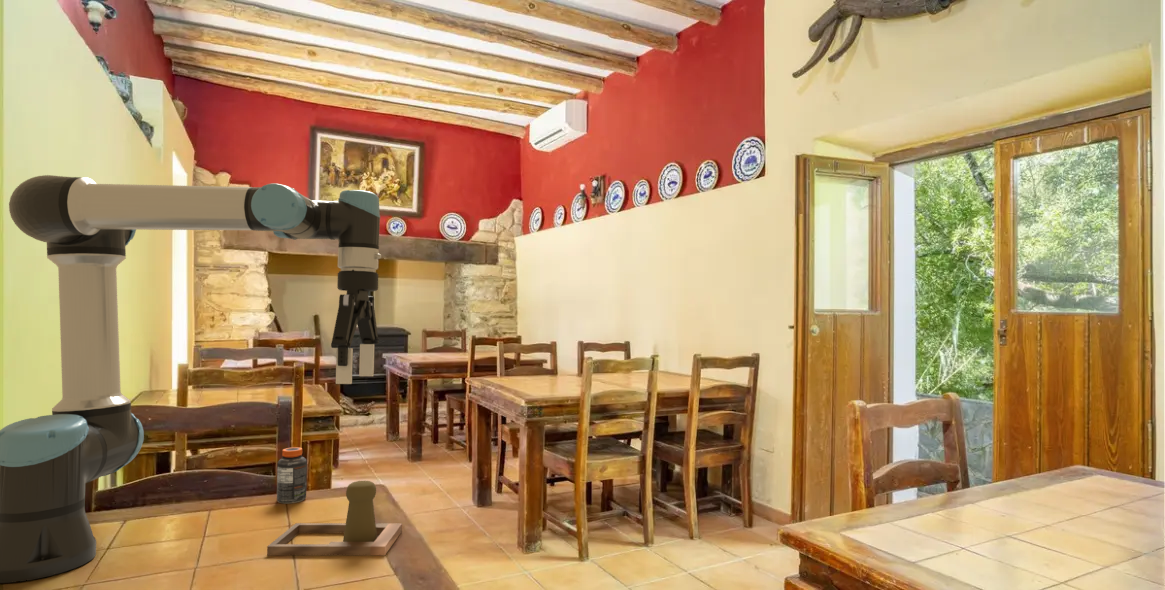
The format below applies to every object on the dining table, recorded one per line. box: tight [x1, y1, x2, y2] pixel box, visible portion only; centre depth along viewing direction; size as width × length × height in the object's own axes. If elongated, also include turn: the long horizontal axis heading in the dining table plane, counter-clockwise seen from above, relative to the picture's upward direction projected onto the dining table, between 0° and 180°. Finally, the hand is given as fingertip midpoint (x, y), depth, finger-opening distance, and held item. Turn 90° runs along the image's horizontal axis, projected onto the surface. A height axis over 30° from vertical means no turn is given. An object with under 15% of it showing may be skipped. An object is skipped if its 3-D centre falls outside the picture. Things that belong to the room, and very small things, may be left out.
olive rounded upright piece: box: [342, 480, 378, 542], centre depth 116 cm, size 6×6×11 cm
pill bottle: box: [276, 446, 308, 504], centre depth 142 cm, size 6×6×11 cm
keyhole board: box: [266, 522, 403, 556], centre depth 116 cm, size 20×12×2 cm, turn 92°
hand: (355, 379), depth 125 cm, fingers open, 13 cm apart
